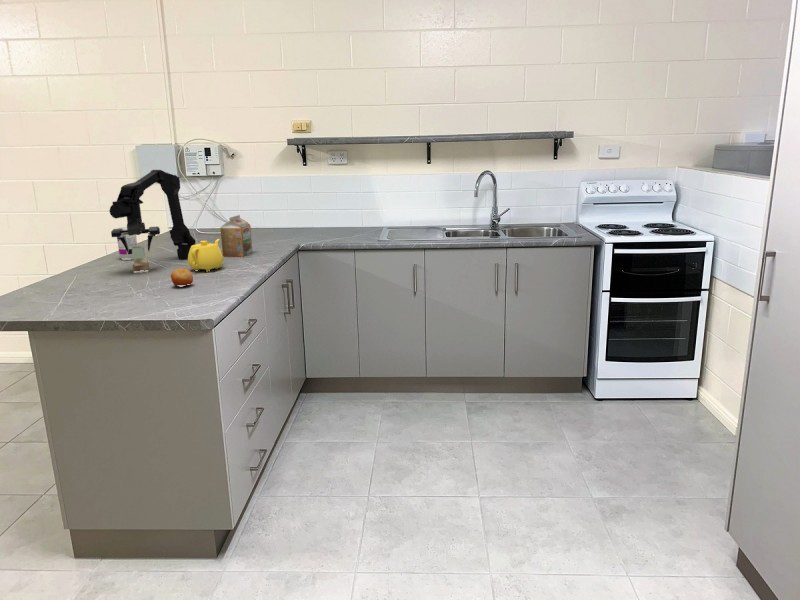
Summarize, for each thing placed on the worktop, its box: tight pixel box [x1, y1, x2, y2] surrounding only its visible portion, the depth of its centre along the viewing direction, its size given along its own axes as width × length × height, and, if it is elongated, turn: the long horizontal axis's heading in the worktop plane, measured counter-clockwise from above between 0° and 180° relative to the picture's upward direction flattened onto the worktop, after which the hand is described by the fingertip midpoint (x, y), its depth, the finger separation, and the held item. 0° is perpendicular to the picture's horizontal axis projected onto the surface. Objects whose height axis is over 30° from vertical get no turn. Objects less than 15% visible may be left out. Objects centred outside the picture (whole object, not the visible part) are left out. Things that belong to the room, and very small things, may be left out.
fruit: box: [170, 267, 194, 286], centre depth 237 cm, size 8×8×8 cm
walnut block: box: [132, 262, 150, 272], centre depth 264 cm, size 6×6×4 cm
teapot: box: [187, 238, 224, 271], centre depth 266 cm, size 14×20×13 cm
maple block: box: [133, 255, 149, 266], centre depth 264 cm, size 5×5×3 cm
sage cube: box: [132, 245, 146, 259], centre depth 262 cm, size 4×4×4 cm
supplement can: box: [116, 226, 138, 258], centre depth 291 cm, size 8×8×15 cm
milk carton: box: [219, 214, 254, 258], centre depth 296 cm, size 11×11×19 cm
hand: (138, 251), depth 262 cm, fingers open, 8 cm apart
